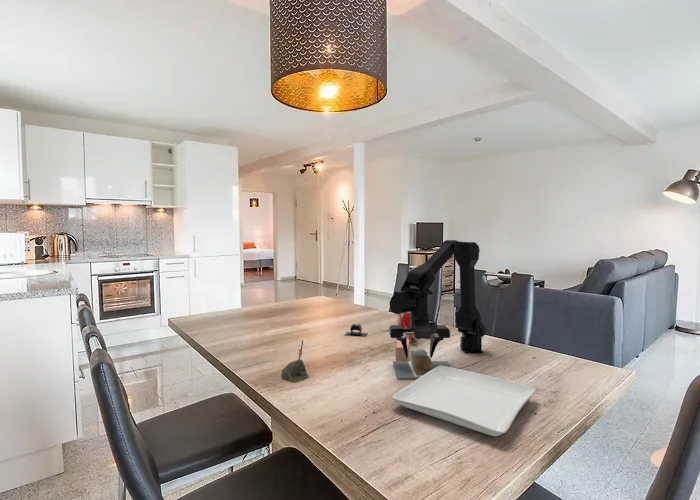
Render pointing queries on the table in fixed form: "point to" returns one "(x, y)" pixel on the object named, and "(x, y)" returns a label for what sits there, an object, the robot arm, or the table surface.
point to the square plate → (466, 399)
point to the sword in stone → (295, 370)
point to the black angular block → (359, 334)
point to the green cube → (417, 354)
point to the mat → (412, 369)
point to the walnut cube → (422, 364)
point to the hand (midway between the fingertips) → (418, 357)
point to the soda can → (406, 324)
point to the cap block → (401, 351)
